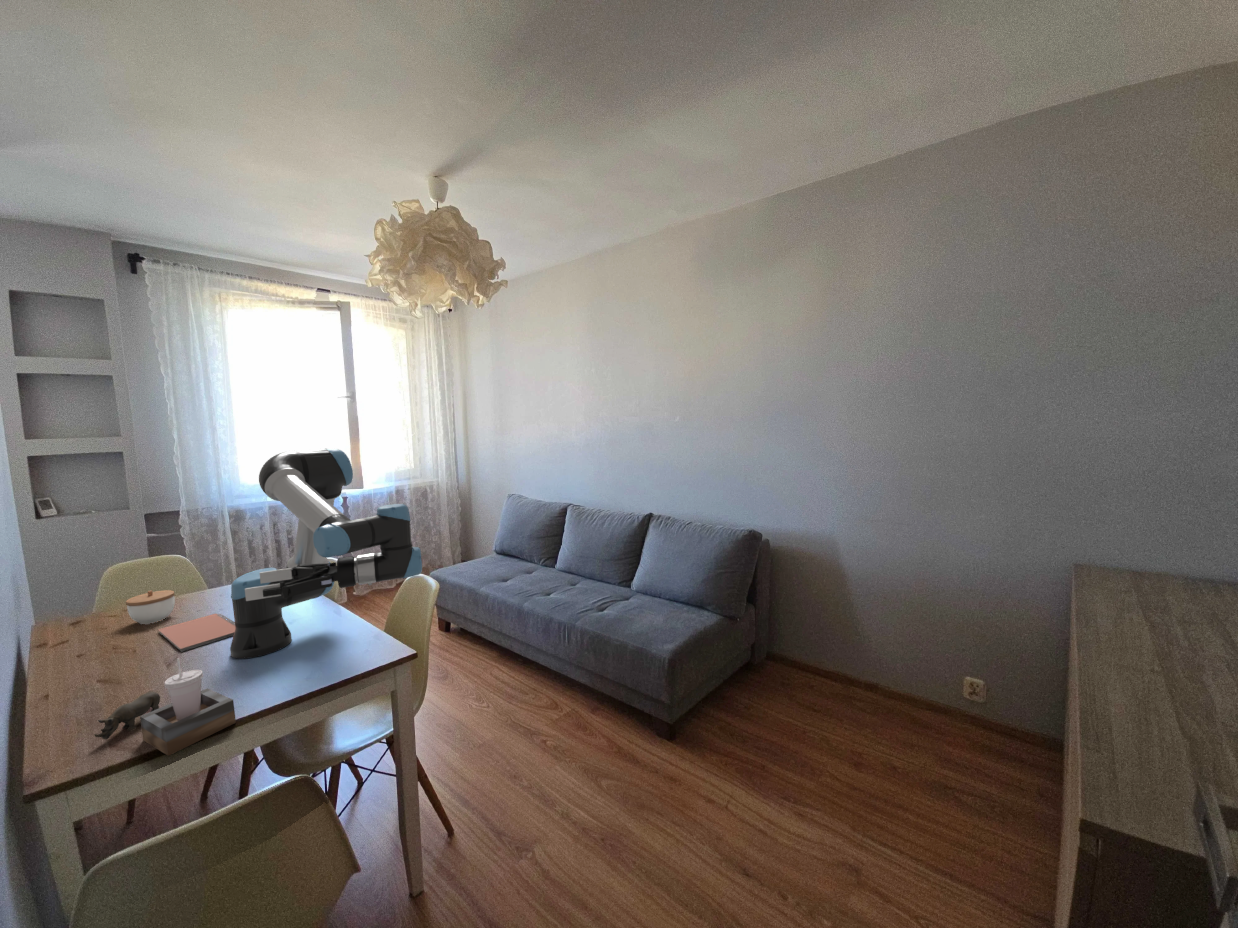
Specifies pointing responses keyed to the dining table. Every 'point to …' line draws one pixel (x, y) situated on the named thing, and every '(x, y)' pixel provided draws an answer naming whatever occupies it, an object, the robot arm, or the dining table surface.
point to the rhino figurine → (129, 713)
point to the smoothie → (185, 691)
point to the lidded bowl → (151, 606)
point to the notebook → (199, 631)
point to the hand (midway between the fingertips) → (253, 585)
